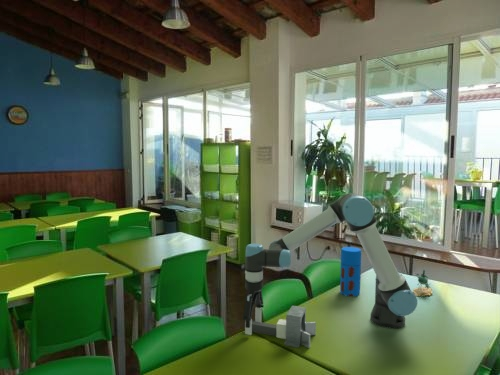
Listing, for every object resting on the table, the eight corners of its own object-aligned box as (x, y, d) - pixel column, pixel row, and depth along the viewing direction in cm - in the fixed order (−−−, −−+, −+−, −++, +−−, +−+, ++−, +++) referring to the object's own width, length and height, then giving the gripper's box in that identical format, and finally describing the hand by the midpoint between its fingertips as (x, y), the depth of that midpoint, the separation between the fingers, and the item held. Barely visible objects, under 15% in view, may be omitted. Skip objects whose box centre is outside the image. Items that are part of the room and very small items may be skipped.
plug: (288, 333, 160) (288, 320, 160) (285, 339, 155) (285, 325, 155) (249, 326, 166) (249, 313, 166) (245, 331, 162) (245, 318, 161)
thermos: (360, 297, 201) (362, 252, 199) (340, 295, 203) (341, 251, 201) (358, 290, 212) (360, 247, 210) (339, 288, 214) (340, 246, 212)
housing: (316, 332, 161) (316, 306, 160) (309, 349, 147) (309, 321, 146) (293, 328, 164) (293, 303, 163) (284, 345, 151) (284, 317, 149)
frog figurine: (441, 292, 209) (441, 267, 207) (421, 302, 200) (421, 276, 198) (425, 287, 217) (425, 263, 215) (405, 296, 208) (405, 271, 206)
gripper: (255, 270, 174) (254, 315, 176) (235, 287, 151) (234, 338, 153) (270, 272, 171) (270, 317, 173) (252, 290, 149) (251, 342, 150)
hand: (253, 327), depth 163 cm, fingers open, 12 cm apart
